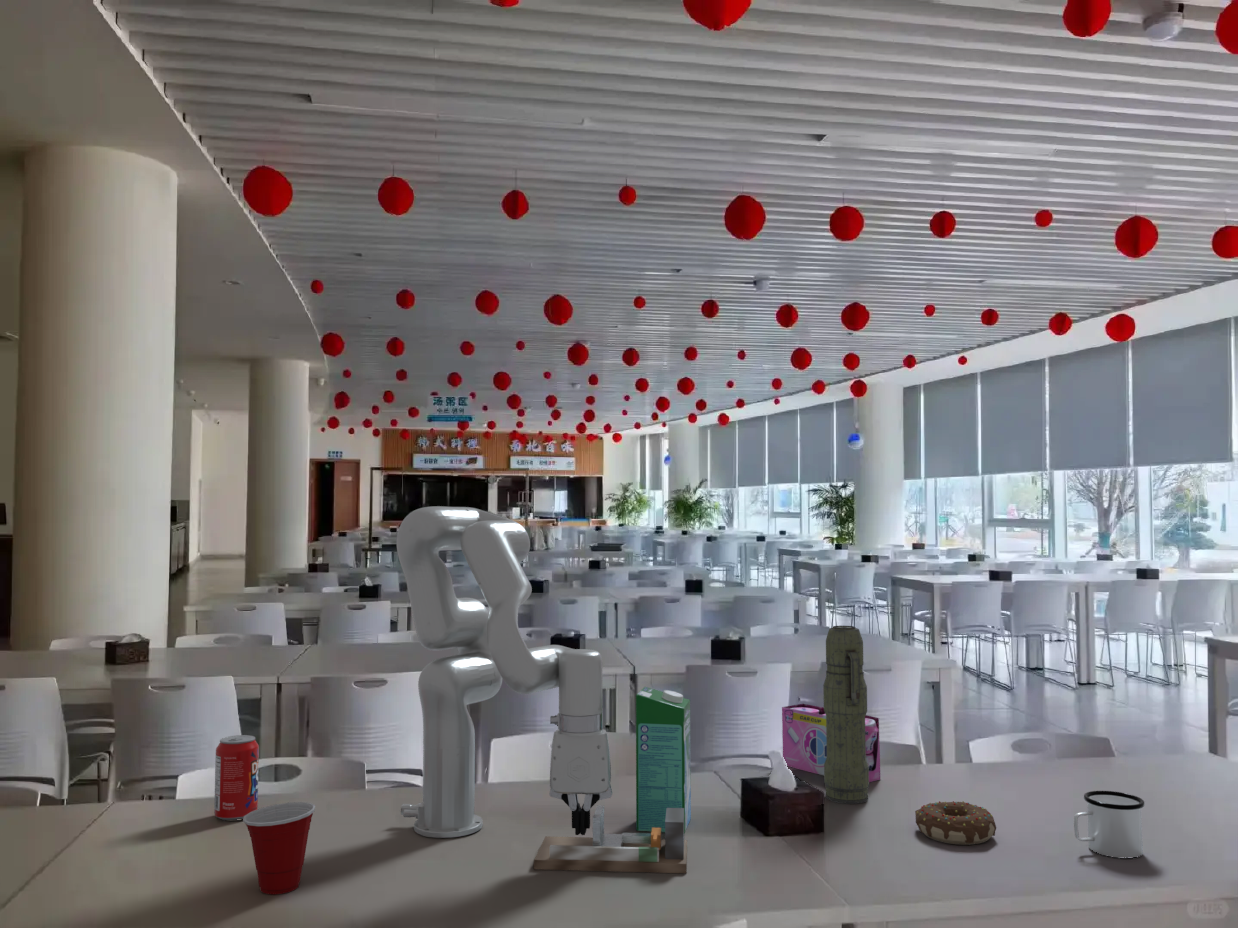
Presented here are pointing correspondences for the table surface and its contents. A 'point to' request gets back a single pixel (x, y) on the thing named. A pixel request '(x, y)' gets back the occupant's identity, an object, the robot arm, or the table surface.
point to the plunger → (614, 839)
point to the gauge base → (618, 852)
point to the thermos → (845, 717)
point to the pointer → (656, 838)
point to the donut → (955, 822)
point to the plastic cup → (279, 844)
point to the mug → (1113, 823)
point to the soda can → (236, 777)
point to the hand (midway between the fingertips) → (581, 832)
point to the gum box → (820, 739)
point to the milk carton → (662, 757)
